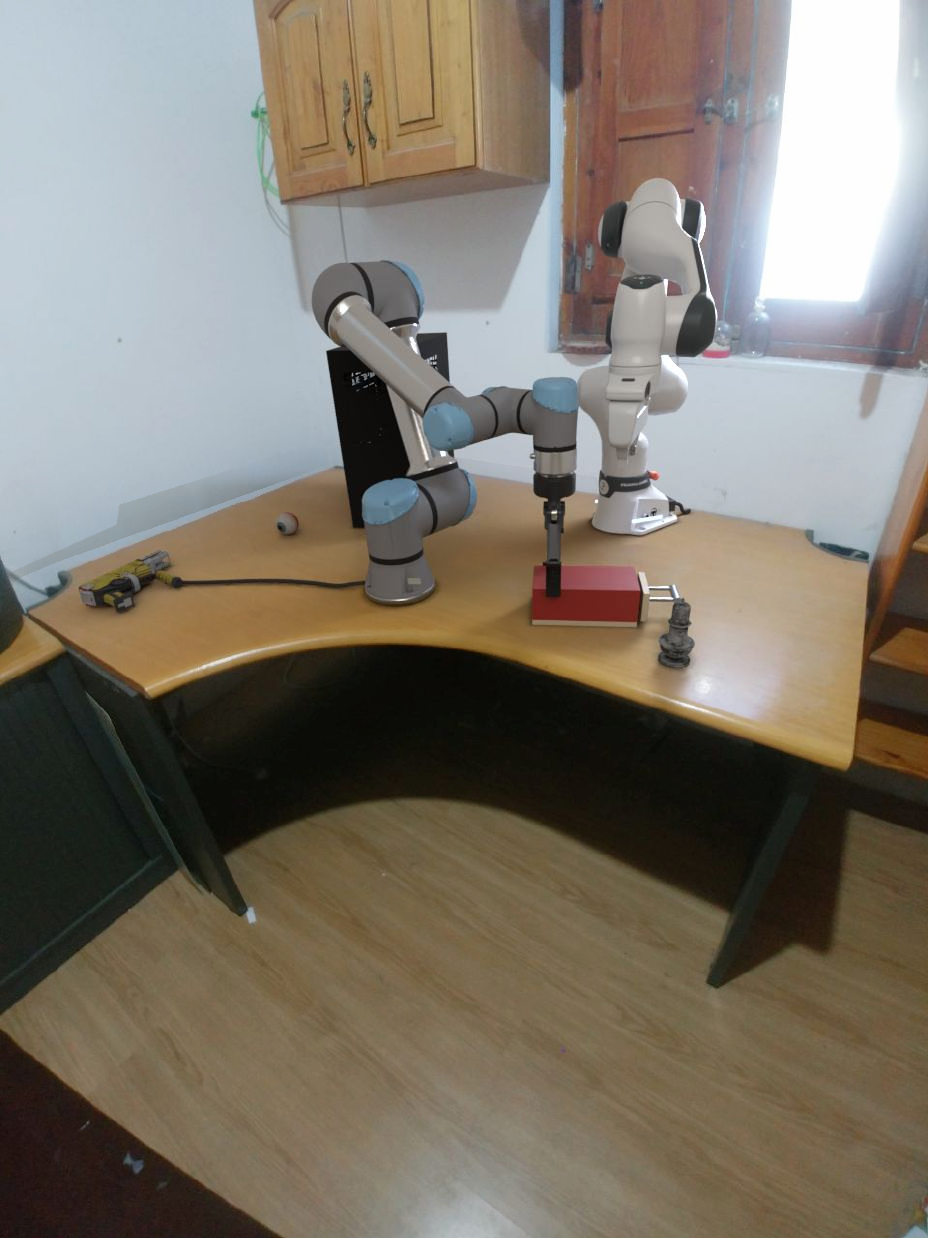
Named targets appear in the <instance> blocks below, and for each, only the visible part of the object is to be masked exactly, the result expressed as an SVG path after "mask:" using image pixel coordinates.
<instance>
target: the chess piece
mask: <svg viewBox="0 0 928 1238" xmlns="http://www.w3.org/2000/svg"><path fill="white" fill-rule="evenodd" d="M691 611H692V607H691V604H690V603H689V602H686V599H685V598H684V597H682V598H681V601H679V602H676V603H674V602H673V605H672V609H671V616H670V618H668V620H667V622H668V625H669V626H668V630H667V632H665V633H663V634H661V635H660V636H659V637H658V643H659V647H660V649H661V651H660V653H658V655H657V656H658V657H657V658H658V660H659V662H660V663H661V664H663V665H664V666H667V667H669V668H684V667H687V666H689V665H690V663H691V658H690V656H689V655H690V653H691V652H692V650H693V649H695V646H696V641H695V640H694V639H693V638H692V637H691V636H689V634H688V633H689V627H690V626H691V625H692V621H691V620H690V617H691Z"/></svg>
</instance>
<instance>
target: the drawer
mask: <svg viewBox="0 0 928 1238" xmlns="http://www.w3.org/2000/svg"><path fill="white" fill-rule="evenodd" d="M637 579H638V583H639V587H640V600H639V609H638V617H639V620H640V622H642V623H643V622H648V617H649V608H650V602H651V603H653V602H655V603H656V602H657V603H673V604H674V603H676V602H679V601H681V599H682V598H681V594H680V593H679V590H678V587H677V585H676V584H670V585H669V586H651V585H648V581H647V577H646V574H645V571H637ZM650 591H658V592H659V591H663V592H665V591H666V592H668V591H669V594H670V596H671V597H652V596H651V592H650Z"/></svg>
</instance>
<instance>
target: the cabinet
mask: <svg viewBox="0 0 928 1238" xmlns="http://www.w3.org/2000/svg"><path fill="white" fill-rule="evenodd" d="M532 576H533V577H532V587H531V588H532V589H531V590H532V591H531V597H532V598H531V602H532V603H531V625H533V626H534V625H536V626H570V627H572V626H573V627H574V626H575V627H579V626H580V627H611V628H616V627H617V628H637V627H638V617H639V613H638V609H639V600H640V587H639V583H638V579H637V577H638V574H637V571H636V567H635V566H633V565H630V566H629V565H628V566H625V565H624V566H623V565H621V566H620V565H561V597H546V566H542V565H541V564H539V565H538V564H535V565H533V574H532Z"/></svg>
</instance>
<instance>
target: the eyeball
mask: <svg viewBox="0 0 928 1238" xmlns="http://www.w3.org/2000/svg"><path fill="white" fill-rule="evenodd" d="M299 525H300V522H299V519H298V517H297V516H296V515H295V514H294V513H292V512H287V511H286V512H282V513H280V514H279V515H278V516H277V517H276V520H275V527H276V529H277V530H278V531H279V532H280V533H281V534H282V535H285V536H286V535H287V536H289V535H293V534H295V533H296V532H297V531H298V529H299Z"/></svg>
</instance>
